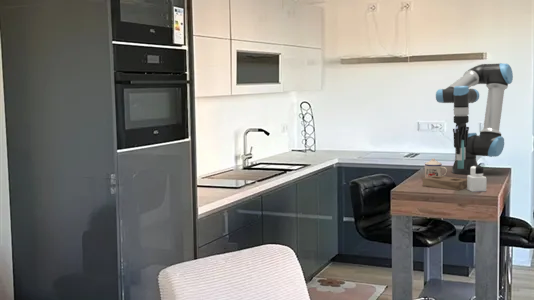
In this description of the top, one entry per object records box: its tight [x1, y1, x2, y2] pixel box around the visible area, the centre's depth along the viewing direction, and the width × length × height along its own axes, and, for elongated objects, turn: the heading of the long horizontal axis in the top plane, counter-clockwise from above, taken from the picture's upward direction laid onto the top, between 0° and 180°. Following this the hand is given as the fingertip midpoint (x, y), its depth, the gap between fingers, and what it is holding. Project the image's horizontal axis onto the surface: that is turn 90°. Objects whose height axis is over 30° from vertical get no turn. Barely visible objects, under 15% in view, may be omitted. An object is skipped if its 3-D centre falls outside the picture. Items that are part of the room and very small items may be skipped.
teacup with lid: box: [424, 158, 448, 178], centre depth 341 cm, size 12×9×12 cm
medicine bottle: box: [466, 165, 487, 193], centre depth 307 cm, size 7×7×12 cm
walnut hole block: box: [422, 176, 467, 191], centre depth 320 cm, size 12×20×4 cm, turn 45°
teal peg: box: [458, 140, 464, 169], centre depth 329 cm, size 3×3×15 cm
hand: (460, 159), depth 329 cm, fingers closed on teal peg, 3 cm apart
